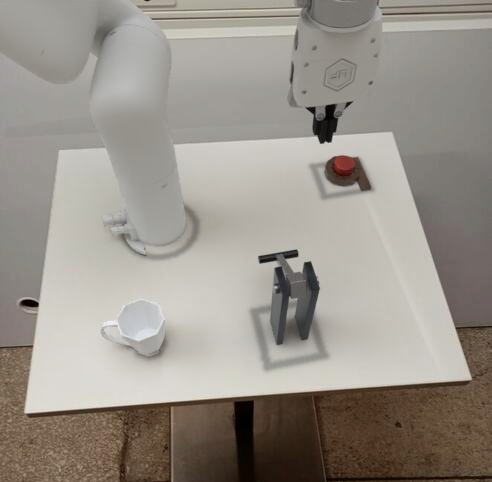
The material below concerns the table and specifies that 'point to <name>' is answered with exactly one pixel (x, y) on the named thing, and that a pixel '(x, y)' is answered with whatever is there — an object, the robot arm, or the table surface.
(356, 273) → the table surface
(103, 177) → the table surface
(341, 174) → the button
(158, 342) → the cup
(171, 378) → the table surface
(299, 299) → the bracket
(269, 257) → the lever
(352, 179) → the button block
